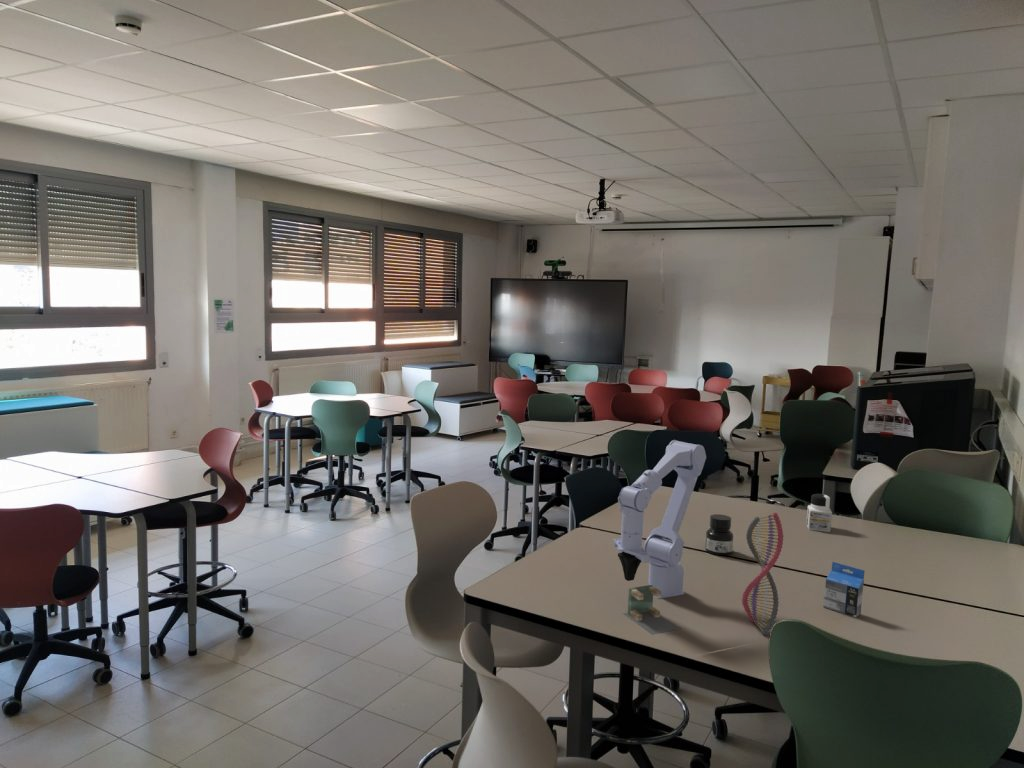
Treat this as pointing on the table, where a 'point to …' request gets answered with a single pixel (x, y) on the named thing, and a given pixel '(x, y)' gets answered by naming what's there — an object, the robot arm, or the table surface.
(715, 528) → the ink bottle
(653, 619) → the mat
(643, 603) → the stool
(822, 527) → the container
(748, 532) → the dna model
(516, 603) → the table surface
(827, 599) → the ink cartridge box
